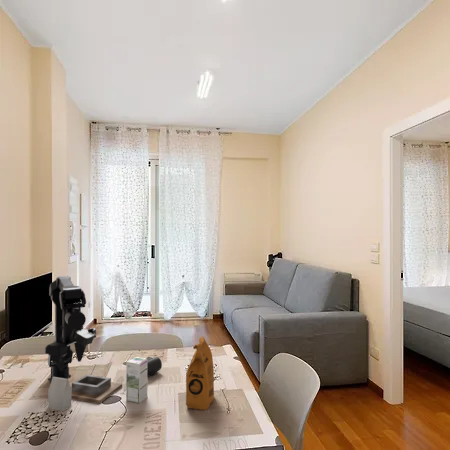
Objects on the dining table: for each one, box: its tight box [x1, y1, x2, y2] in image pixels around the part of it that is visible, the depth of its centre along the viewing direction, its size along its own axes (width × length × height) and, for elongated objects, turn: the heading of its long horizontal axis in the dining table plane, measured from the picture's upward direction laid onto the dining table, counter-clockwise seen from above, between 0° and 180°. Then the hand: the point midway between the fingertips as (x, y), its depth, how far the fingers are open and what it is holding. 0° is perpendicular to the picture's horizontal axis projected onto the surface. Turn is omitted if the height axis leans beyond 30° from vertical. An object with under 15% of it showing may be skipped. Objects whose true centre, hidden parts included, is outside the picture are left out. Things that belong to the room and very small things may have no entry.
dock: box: [70, 374, 123, 404], centre depth 133 cm, size 18×14×4 cm
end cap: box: [146, 356, 163, 378], centre depth 148 cm, size 10×7×7 cm
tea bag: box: [47, 377, 72, 412], centre depth 121 cm, size 4×7×10 cm, turn 71°
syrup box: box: [125, 356, 148, 404], centre depth 127 cm, size 6×6×14 cm
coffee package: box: [185, 336, 215, 411], centre depth 125 cm, size 10×12×22 cm
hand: (70, 366), depth 124 cm, fingers open, 9 cm apart
